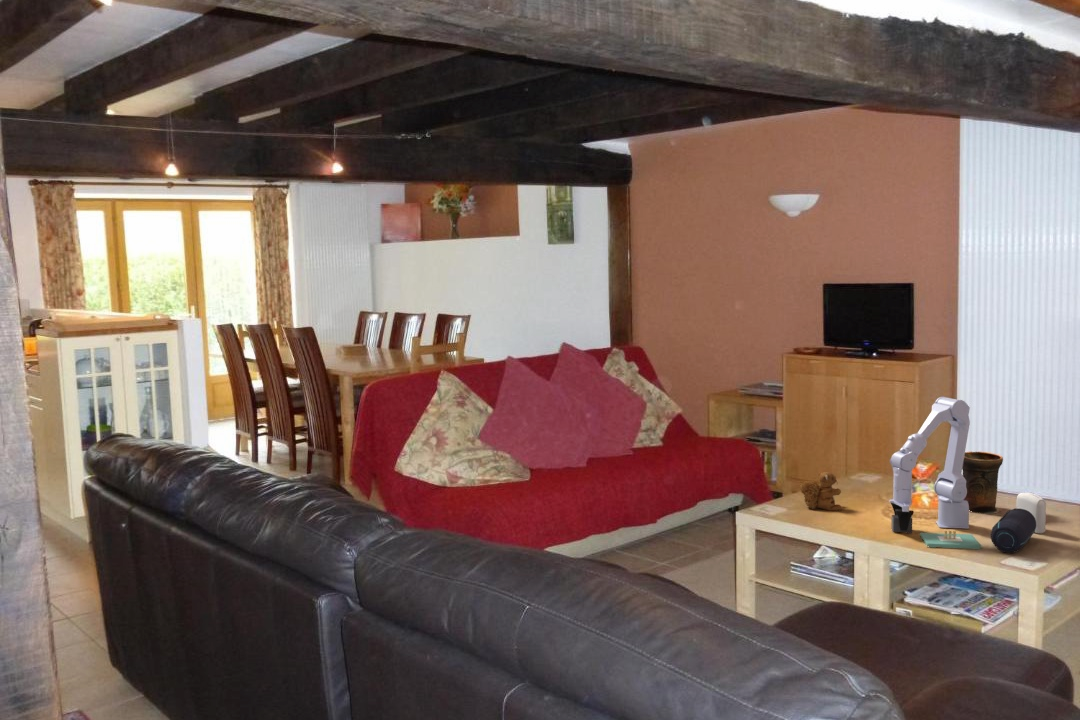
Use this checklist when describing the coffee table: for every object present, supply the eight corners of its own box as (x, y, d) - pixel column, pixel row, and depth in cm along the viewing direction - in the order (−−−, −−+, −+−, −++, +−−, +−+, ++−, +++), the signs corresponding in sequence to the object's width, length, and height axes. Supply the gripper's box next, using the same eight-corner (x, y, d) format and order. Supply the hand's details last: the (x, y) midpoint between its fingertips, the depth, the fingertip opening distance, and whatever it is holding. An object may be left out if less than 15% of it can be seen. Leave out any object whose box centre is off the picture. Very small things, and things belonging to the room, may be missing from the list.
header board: (971, 537, 309) (972, 526, 309) (981, 549, 297) (981, 537, 297) (920, 536, 312) (920, 525, 312) (927, 547, 301) (927, 535, 300)
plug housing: (909, 529, 320) (910, 515, 319) (912, 533, 316) (912, 518, 315) (891, 529, 321) (891, 514, 320) (893, 532, 317) (893, 518, 316)
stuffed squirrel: (844, 510, 345) (844, 475, 344) (805, 511, 345) (805, 476, 344) (835, 503, 355) (836, 469, 354) (798, 504, 355) (798, 470, 354)
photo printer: (1013, 526, 321) (1014, 490, 320) (1024, 524, 322) (1025, 489, 321) (1036, 534, 311) (1037, 497, 310) (1047, 533, 312) (1048, 496, 311)
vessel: (990, 502, 350) (992, 450, 348) (1008, 514, 336) (1010, 459, 333) (951, 503, 351) (952, 451, 348) (967, 515, 336) (969, 460, 334)
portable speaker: (1004, 533, 314) (1005, 503, 313) (1038, 537, 308) (1039, 507, 307) (987, 552, 294) (988, 521, 293) (1022, 558, 288) (1023, 526, 287)
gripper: (886, 482, 324) (885, 520, 326) (893, 492, 310) (892, 532, 312) (908, 482, 323) (907, 521, 324) (916, 493, 309) (915, 533, 310)
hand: (901, 527), depth 318 cm, fingers open, 7 cm apart
